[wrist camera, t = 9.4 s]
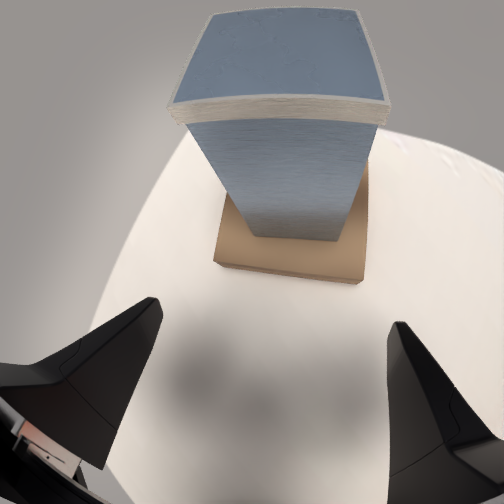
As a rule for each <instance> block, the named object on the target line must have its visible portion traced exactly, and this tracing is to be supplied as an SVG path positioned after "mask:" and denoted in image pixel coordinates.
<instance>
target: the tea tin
mask: <svg viewBox="0 0 504 504" xmlns="http://www.w3.org/2000/svg"><path fill="white" fill-rule="evenodd" d="M390 109H391V102H390V98H389V95H388V91H387V87H386V84H385V80H384V77H383V74H382V71H381V68H380V65H379V61H378V58H377V55H376V53H375V50H374V47H373V44H372V42H371V39H370V36H369V34H368V31H367V29H366V26H365V24H364V22H363V19H362V17H361V15H360V12H359V10H355V9H346V8H334V7H316V6H314V7H313V6H283V7H264V8H253V9H243V10H235V11H228V12H222V13H216V14H211V15H210V17H209V18H208V20H207V22H206V24H205V25H204V28H203V29H202V31H201V33H200V35H199V37H198V39H197V41H196V43H195V45H194V47H193V49H192V51H191V53H190V55H189V57H188V59H187V61H186V63H185V65H184V67H183V70H182V72H181V74H180V76H179V79H178V81H177V83H176V86H175V88H174V90H173V93H172V95H171V98H170V100H169V103H168V105H167V110H168V111H169V113H170V114H171V116H172V117H173V119H174V120H175V122H176V123H177V124H178V125H179V124H186V125H187V127H188V129H189V130H190V132H191V134H192V135H193V137H194V139H195V140H196V142H197V143H198V145H199V147H200V148H201V150H202V151H203V153H204V155H205V156H206V158H207V160H208V161H209V163H210V164H211V166H212V168H213V169H214V171H215V173H216V174H217V176H218V177H219V179H220V181H221V182H222V184H223V186H224V187H225V189H226V191H227V192H228V194H229V195H230V197H231V199H232V200H233V202H234V204H235V205H236V207H237V209H238V210H239V212H240V214H241V215H242V217H243V219H244V220H245V222H246V223H247V225H248V227H249V228H250V230H251V232H252V233H253V235H254V236H261V237H277V238H293V239H308V240H323V241H337V242H338V240H339V237H340V235H341V232H342V230H343V227H344V224H345V222H346V219H347V216H348V214H349V211H350V208H351V206H352V203H353V200H354V197H355V195H356V192H357V189H358V186H359V183H360V180H361V177H362V175H363V172H364V169H365V166H366V162H367V159H368V156H369V153H370V150H371V147H372V144H373V140H374V137H375V134H376V130H377V127H378V125H386V122H387V119H388V116H389V112H390Z"/></svg>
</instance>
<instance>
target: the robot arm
mask: <svg viewBox="0 0 504 504" xmlns="http://www.w3.org/2000/svg"><path fill="white" fill-rule="evenodd" d="M162 319H163V311H162V308H161V305H160V302H159V300H158V299H157V298H154V297H147V298H145V299H144V300H142V301H140V302H139V303H137V304H135V305H134V306H132V307H130V308H129V309H127V310H126V311H124V312H122V313H121V314H119V315H117V316H116V317H114V318H113V319H111V320H109V321H108V322H106V323H104V324H103V325H101V326H100V327H98V328H96V329H95V330H93V331H91V332H90V333H88V334H87V335H85V336H83V337H82V338H80V339H79V340H77V341H75V342H74V343H72V344H70V345H69V346H67V347H65V348H63V349H62V350H60V351H58V352H56V353H54V354H52V355H50V356H48V357H46V358H45V359H43V360H41V361H39V362H37V363H34V364H31V365H17V364H8V363H0V497H2V498H5V499H7V500H9V501H11V502H14V503H16V504H111V503H109V502H108V501H106V500H104V499H103V498H101V497H99V496H97V495H96V494H94V493H92V492H91V491H89V490H88V488H87V485H86V482H85V479H84V476H83V473H82V470H81V467H80V466H79V465H80V463H81V461H82V460H84V461H86V462H88V463H89V464H91V465H93V466H94V467H96V468H98V469H100V470H103V468H104V465H105V463H106V460H107V457H108V455H109V452H110V449H111V447H112V444H113V442H114V439H115V436H116V434H117V430H118V429H119V426H120V424H121V421H122V419H123V416H124V414H125V411H126V409H127V406H128V404H129V402H130V399H131V397H132V395H133V392H134V390H135V388H136V385H137V383H138V381H139V378H140V376H141V374H142V371H143V369H144V367H145V365H146V362H147V360H148V358H149V356H150V354H151V351H152V349H153V346H154V343H155V340H156V337H157V334H158V331H159V328H160V325H161V322H162ZM387 387H388V401H389V421H390V470H389V477H390V478H389V487H388V500H387V504H504V440H501V439H499V438H498V437H496V436H495V435H494V434H493V433H492V432H491V431H490V430H489V429H488V427H487V426H486V425H485V424H484V423H483V421H482V420H481V419H480V418H479V417H478V415H477V414H476V413H475V412H474V411H473V409H472V408H471V407H470V406H469V404H468V403H467V402H466V401H465V399H464V398H463V396H462V395H461V394H460V392H459V391H458V390H457V388H456V387H454V384H453V383H452V381H451V380H450V379H449V377H448V376H447V375H446V373H445V372H444V370H443V369H442V368H441V366H440V365H439V364H438V362H437V361H436V360H435V359H434V357H433V356H432V355H431V353H430V352H429V351H428V350H427V348H426V347H425V346H424V344H423V343H422V342H421V341H420V339H419V338H418V337H417V336H416V334H415V333H414V332H413V331H412V330H411V328H410V327H409V326H408V325H407V323H406V322H403V321H396V322H394V323H393V325H392V328H391V330H390V333H389V335H388V339H387Z"/></svg>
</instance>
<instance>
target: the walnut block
mask: <svg viewBox="0 0 504 504" xmlns="http://www.w3.org/2000/svg"><path fill="white" fill-rule="evenodd" d="M367 224H368V159H367V162H366V166H365V169H364V172H363V175H362V177H361V180H360V183H359V186H358V189H357V192H356V195H355V197H354V200H353V203H352V206H351V208H350V211H349V214H348V216H347V219H346V222H345V224H344V227H343V230H342V232H341V235H340V237H339V240H338V242H337V241H323V240H308V239H293V238H277V237H261V236H254V235H253V233H252V232H251V230H250V228H249V227H248V225H247V223H246V222H245V220H244V219H243V217H242V215H241V214H240V212H239V210H238V209H237V207H236V205H235V204H234V202H233V200H232V199H231V197H230V195H229V194H228V192H227V194H226V199H225V204H224V209H223V213H222V218H221V223H220V228H219V233H218V238H217V243H216V248H215V253H214V259H213V261H215V262H216V263H218V264H220V265H221V266H223V267H228V268H235V269H242V270H249V271H256V272H263V273H271V274H278V275H286V276H293V277H301V278H309V279H317V280H325V281H333V282H341V283H349V284H358V283H360V282H361V281H363V280H364V269H365V258H366V243H367Z"/></svg>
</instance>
